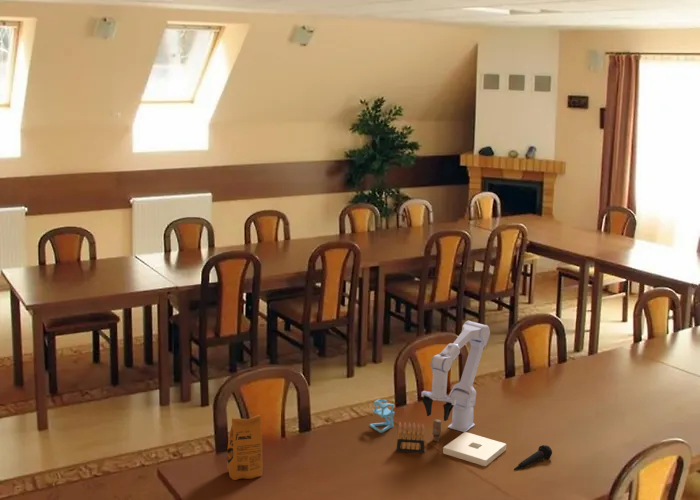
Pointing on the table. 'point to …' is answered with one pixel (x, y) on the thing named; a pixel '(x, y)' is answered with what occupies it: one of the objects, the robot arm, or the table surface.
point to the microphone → (536, 457)
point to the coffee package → (245, 448)
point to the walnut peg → (436, 429)
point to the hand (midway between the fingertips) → (437, 417)
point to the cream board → (474, 448)
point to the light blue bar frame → (383, 415)
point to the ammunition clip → (411, 438)
